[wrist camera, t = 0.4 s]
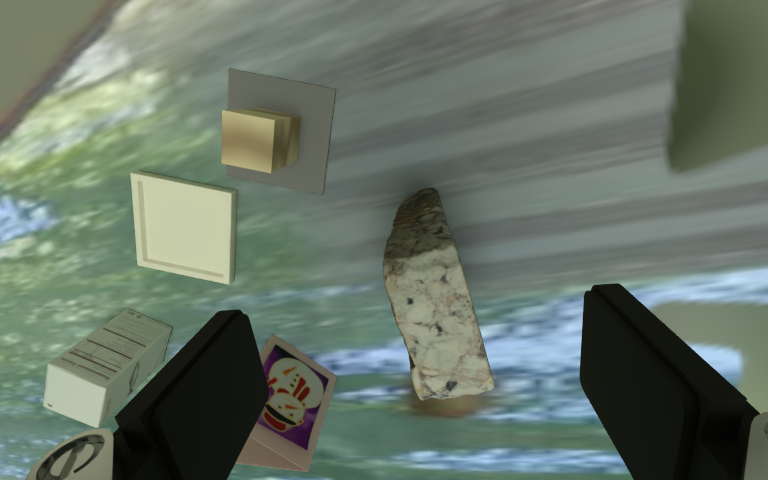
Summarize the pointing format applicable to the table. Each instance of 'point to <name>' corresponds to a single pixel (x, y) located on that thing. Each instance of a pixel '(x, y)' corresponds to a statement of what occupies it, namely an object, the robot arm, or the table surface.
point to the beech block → (259, 139)
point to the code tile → (314, 126)
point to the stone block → (433, 303)
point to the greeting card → (289, 409)
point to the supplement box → (105, 367)
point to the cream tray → (184, 226)
